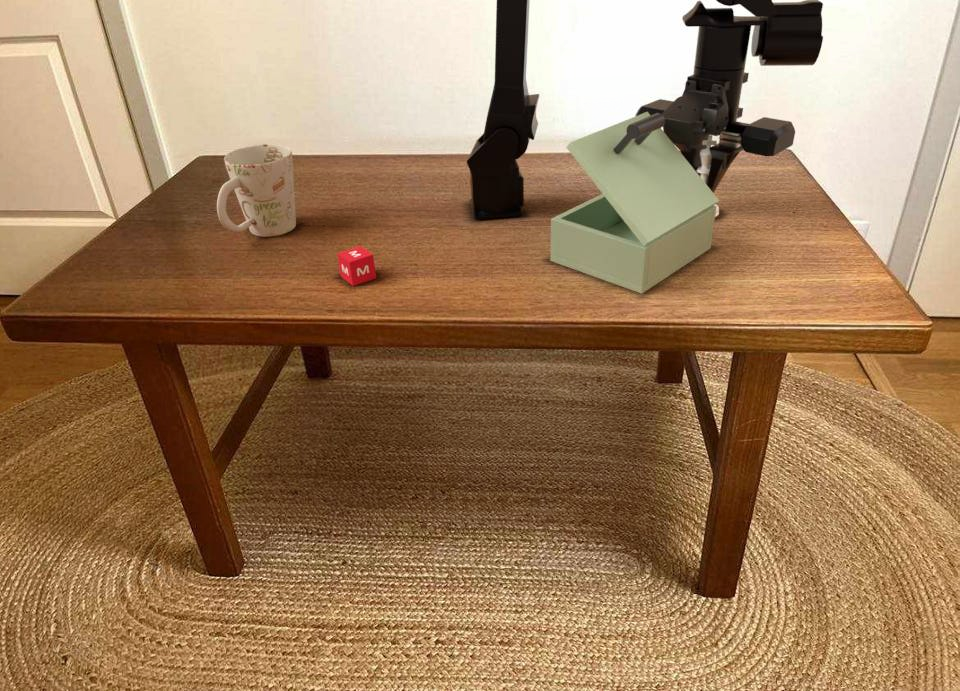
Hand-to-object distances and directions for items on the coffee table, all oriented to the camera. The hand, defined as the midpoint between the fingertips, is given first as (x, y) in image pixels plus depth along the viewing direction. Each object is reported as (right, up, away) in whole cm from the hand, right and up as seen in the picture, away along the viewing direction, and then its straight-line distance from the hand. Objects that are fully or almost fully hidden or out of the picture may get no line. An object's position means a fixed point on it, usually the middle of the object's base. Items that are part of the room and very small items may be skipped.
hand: (702, 192), depth 93 cm
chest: (-11, -9, -8) cm, 16 cm away
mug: (-57, -5, +2) cm, 57 cm away
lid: (-11, -1, -14) cm, 17 cm away
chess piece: (0, -2, +2) cm, 3 cm away
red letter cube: (-43, -12, -10) cm, 45 cm away
